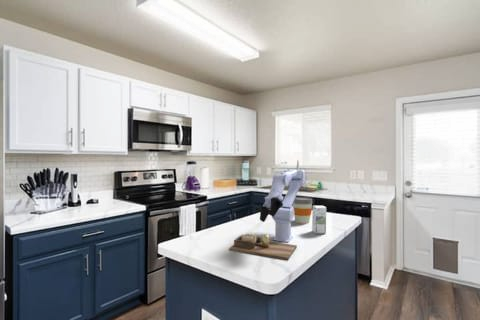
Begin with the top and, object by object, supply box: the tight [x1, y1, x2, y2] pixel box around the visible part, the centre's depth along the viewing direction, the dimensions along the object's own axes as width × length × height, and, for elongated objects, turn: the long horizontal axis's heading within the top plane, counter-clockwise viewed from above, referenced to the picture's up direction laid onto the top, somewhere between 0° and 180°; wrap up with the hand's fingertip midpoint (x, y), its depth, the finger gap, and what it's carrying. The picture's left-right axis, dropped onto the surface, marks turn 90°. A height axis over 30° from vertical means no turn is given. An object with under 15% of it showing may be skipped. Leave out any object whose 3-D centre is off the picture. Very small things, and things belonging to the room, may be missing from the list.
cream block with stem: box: [242, 232, 270, 248], centre depth 117 cm, size 5×12×5 cm, turn 66°
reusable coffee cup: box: [292, 196, 313, 224], centre depth 165 cm, size 13×13×15 cm
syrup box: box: [311, 205, 327, 235], centre depth 141 cm, size 6×6×14 cm
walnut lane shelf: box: [229, 234, 298, 261], centre depth 115 cm, size 16×26×4 cm, turn 66°
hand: (266, 218), depth 111 cm, fingers open, 7 cm apart
